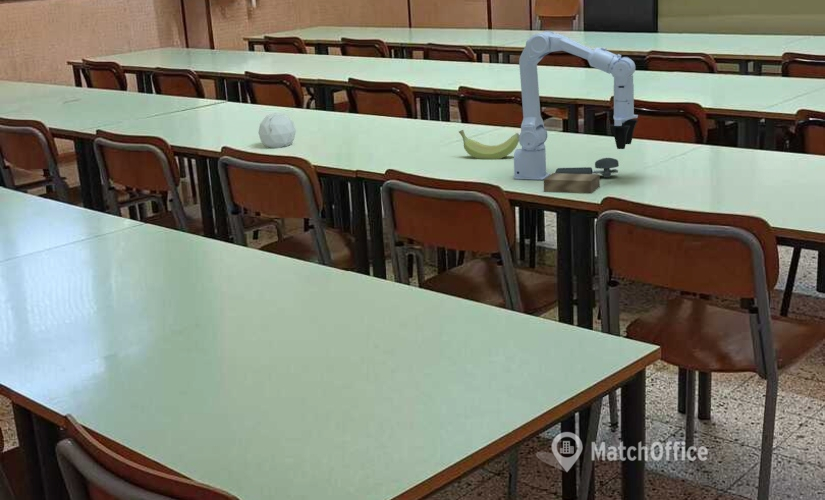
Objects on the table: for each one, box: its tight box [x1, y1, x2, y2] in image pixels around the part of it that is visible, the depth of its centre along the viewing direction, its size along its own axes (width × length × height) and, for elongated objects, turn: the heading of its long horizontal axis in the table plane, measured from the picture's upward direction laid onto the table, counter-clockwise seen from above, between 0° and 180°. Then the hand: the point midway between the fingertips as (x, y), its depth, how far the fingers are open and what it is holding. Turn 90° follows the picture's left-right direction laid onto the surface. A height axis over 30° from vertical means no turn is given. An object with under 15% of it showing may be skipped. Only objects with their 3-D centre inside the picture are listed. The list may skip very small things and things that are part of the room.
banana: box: [458, 129, 520, 160], centre depth 357 cm, size 14×6×20 cm
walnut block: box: [543, 172, 601, 194], centre depth 308 cm, size 14×9×4 cm, turn 65°
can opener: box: [554, 157, 619, 178], centre depth 322 cm, size 19×5×6 cm, turn 77°
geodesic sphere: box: [258, 112, 297, 149], centre depth 402 cm, size 15×14×14 cm
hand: (624, 146), depth 313 cm, fingers open, 7 cm apart
